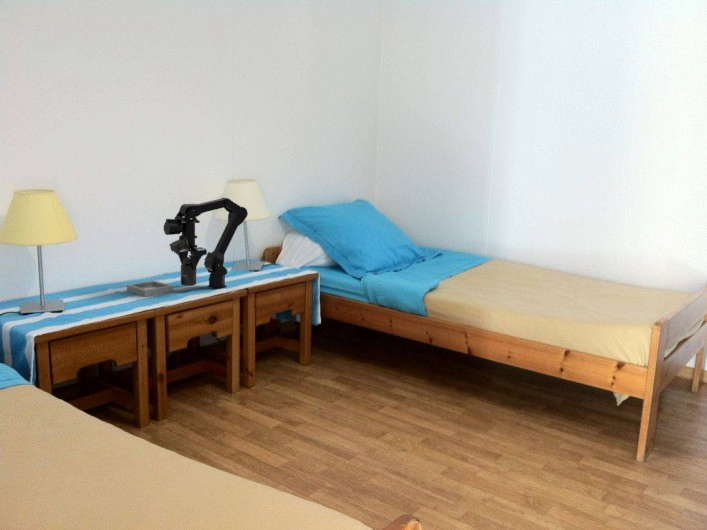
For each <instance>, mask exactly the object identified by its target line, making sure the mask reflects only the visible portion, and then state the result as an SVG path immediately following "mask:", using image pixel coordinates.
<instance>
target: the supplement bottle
mask: <svg viewBox="0 0 707 530" xmlns="http://www.w3.org/2000/svg"><path fill="white" fill-rule="evenodd" d="M183 262H184V263H183V264H181V263H180V285H182V286H184V287H191V286H195V285H197V277H198V276H197V270H198V268H197V266H198V265H197V266H196V268H195V270H192V262H191V258H190V257H189V256H187V257H183Z"/></svg>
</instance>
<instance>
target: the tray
mask: <svg viewBox="0 0 707 530" xmlns="http://www.w3.org/2000/svg"><path fill="white" fill-rule="evenodd" d="M126 290H127V291H128V292H129V291H130V293H133V294H136V295H138V296H141V297H145V296H146V297H151V295H152V296H156V295H155V294H157V295H161V293H163V294H168V293H167V292H169V293H173V292H174V285H172V284H168V283H165V282H161V281H159V280H150V281H143V282H137V283H131V284H130V283H129V284H126Z"/></svg>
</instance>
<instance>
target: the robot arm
mask: <svg viewBox="0 0 707 530" xmlns="http://www.w3.org/2000/svg"><path fill="white" fill-rule="evenodd" d="M223 208H224V210H225V211H227V212H228V214H227V223H226V225H225V228H224V229H223V231H222V234H221V236H220V238H219V239H218V242H217V244H216V246H215V247H214V250H212V252H210V251H207V249H206V248H205V247H201V246H200V247H198V244H196V239H198V235H196V224H200V223H201V221H200V220H199V219H197V217H199V216H201V215H202V214H204V213H207V212H208V213H209V212H210V211H211V212H212V211H214V210H220V209H223ZM248 213H249V212H248V209H247V208H246V207H244V206H240V205H239V204H237V203H235V202H234V201H233V200H232V199H230V198H228V197H221V198H218V199H217V198H216V199H212V200H208V201H205V202H201V203H183V204H181V205H180V207H179V210H178V212H177V214H176V215H175V217H174V218H165V222H164V224H163V232H164V234H165V235H166V236H171V235H172V236H173V235H179V237H178V239H177V240H174V241H172V242H171V243H170V244H169V248H170V250H171V252H173V253H175V254H176V255H177V256H178V259H179V261H180V265H181V264H183V263H184V262H183V257H190V258H191V262H192V270H195V268H196V266H198V264H199V262H200V261H201V259H202V257H203V256H205V258H204V259H203V260H204V262H203V265H204V267H205V269H206V270H207V273H210V274H209V278H208V284H207V287H208V288H211V289H215V290H216V289H217V290H218V289H219V290H220V289H223V288H227V287H228V285H226V284H225V283H226V281H225V280H226V275H227V274H228V269H227V268H226V267H225V266H224V264H225V254H226V252H227V250H228V248H229V246H230V243H231V242H232V239H233V237H234V235H235V233H236V231H237V229H238V228H239V226H241V224H243V223H244V222H245V220H246V219H247V217H248V215H249V214H248ZM180 234H181V235H180Z"/></svg>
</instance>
